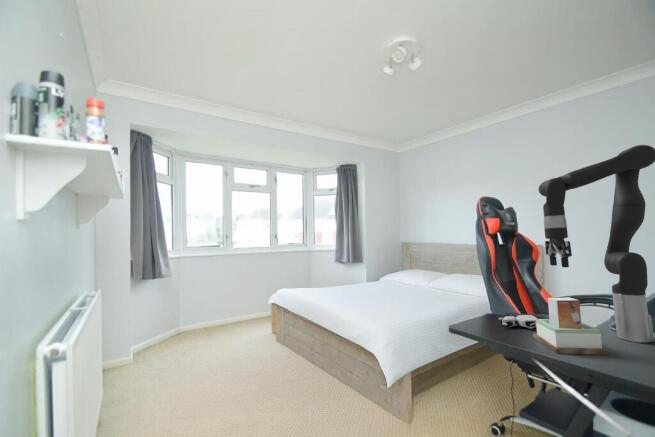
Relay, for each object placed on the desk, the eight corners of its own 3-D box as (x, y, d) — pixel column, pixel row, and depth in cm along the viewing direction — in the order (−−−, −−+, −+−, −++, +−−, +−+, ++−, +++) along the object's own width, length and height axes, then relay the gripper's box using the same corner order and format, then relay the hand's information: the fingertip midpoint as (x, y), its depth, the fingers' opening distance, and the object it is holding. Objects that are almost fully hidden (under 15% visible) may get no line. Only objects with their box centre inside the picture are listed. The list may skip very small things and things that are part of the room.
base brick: (577, 335, 118) (575, 319, 118) (602, 348, 104) (600, 330, 105) (537, 334, 120) (535, 319, 121) (556, 347, 107) (554, 329, 107)
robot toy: (504, 331, 134) (543, 331, 129) (502, 321, 134) (541, 320, 129) (498, 323, 145) (534, 323, 140) (497, 314, 146) (533, 313, 141)
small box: (559, 329, 111) (556, 300, 111) (549, 325, 116) (547, 297, 117) (582, 329, 110) (579, 299, 110) (571, 324, 115) (569, 297, 116)
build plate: (578, 338, 119) (577, 334, 119) (609, 354, 102) (608, 350, 102) (533, 337, 122) (532, 333, 122) (556, 353, 105) (555, 348, 105)
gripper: (576, 225, 117) (580, 267, 116) (556, 227, 131) (559, 264, 130) (554, 226, 119) (558, 268, 118) (536, 227, 133) (540, 265, 132)
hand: (559, 266), depth 124 cm, fingers open, 8 cm apart
